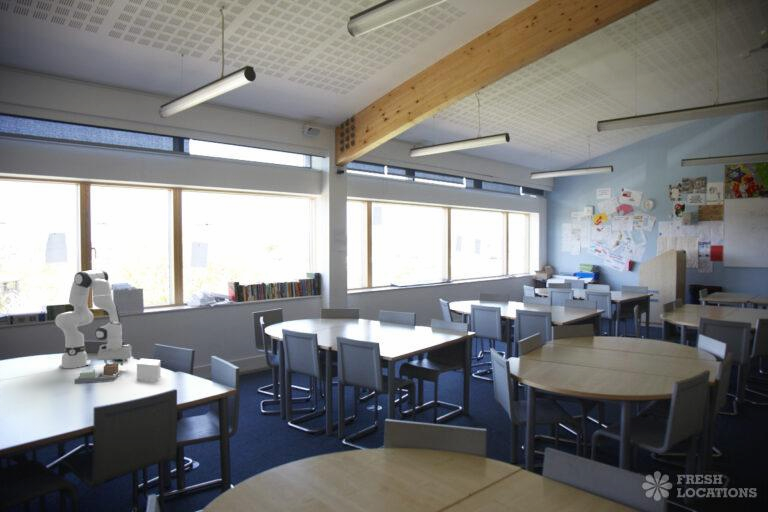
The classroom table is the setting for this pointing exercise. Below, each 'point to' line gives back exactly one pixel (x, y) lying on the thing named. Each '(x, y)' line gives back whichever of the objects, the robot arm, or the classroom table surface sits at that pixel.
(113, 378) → the lane rack
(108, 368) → the walnut block
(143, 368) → the white rectangular box
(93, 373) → the sage block
